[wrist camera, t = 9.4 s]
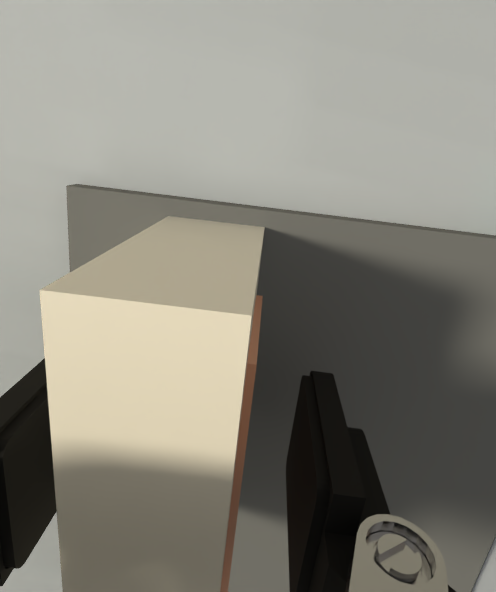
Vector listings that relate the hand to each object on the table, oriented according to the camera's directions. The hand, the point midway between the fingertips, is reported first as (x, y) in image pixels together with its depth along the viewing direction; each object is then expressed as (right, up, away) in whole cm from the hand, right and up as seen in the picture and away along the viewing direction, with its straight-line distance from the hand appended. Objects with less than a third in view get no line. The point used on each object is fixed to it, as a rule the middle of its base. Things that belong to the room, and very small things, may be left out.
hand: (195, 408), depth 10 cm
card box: (0, +1, +1) cm, 2 cm away
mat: (+3, -2, +3) cm, 5 cm away
